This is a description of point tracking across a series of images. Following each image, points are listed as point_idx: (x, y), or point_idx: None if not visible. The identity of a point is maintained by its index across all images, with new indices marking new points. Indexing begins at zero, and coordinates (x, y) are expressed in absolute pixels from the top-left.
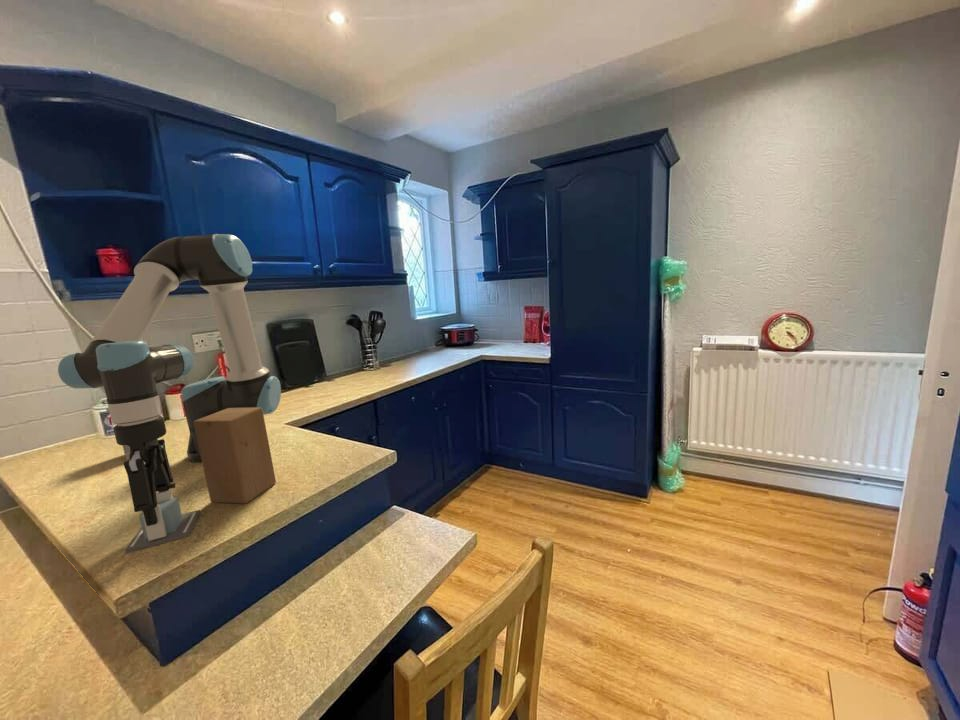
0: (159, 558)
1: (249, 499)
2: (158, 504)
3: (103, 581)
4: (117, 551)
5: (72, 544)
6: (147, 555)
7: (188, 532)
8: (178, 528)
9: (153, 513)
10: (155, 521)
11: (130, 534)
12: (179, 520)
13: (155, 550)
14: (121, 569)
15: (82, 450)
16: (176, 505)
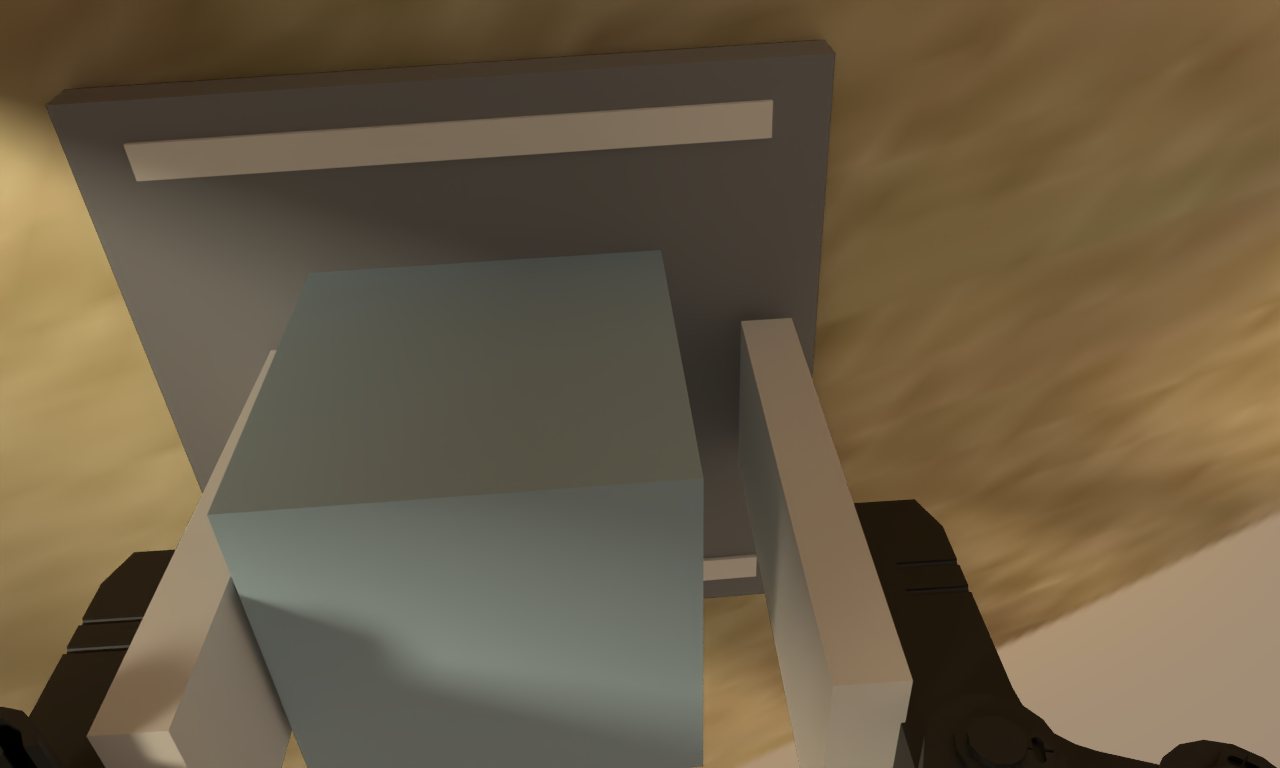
0: (1171, 225)
1: None
2: (829, 699)
3: (1201, 541)
4: (708, 632)
5: None
6: (992, 369)
7: (807, 54)
8: (587, 238)
9: (985, 643)
10: (934, 530)
11: None
12: (428, 287)
13: (934, 328)
14: (1100, 490)
15: None
16: (368, 438)
